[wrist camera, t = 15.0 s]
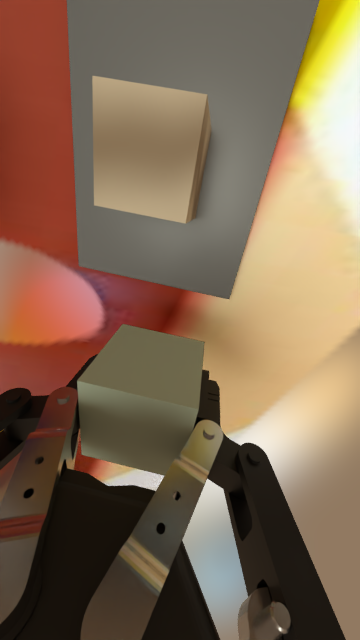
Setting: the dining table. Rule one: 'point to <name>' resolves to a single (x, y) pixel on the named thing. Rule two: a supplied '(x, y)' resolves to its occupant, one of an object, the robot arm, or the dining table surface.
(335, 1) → the dining table surface
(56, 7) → the dining table surface
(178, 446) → the green block
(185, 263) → the base plate
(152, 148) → the birch block
